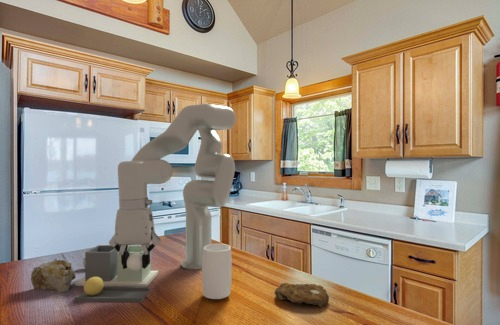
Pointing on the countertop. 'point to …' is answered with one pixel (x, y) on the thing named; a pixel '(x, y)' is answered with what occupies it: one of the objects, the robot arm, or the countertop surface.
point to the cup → (216, 271)
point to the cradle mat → (115, 295)
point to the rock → (53, 276)
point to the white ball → (134, 262)
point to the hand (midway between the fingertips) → (136, 266)
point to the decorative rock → (303, 293)
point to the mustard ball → (93, 286)
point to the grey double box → (114, 267)
